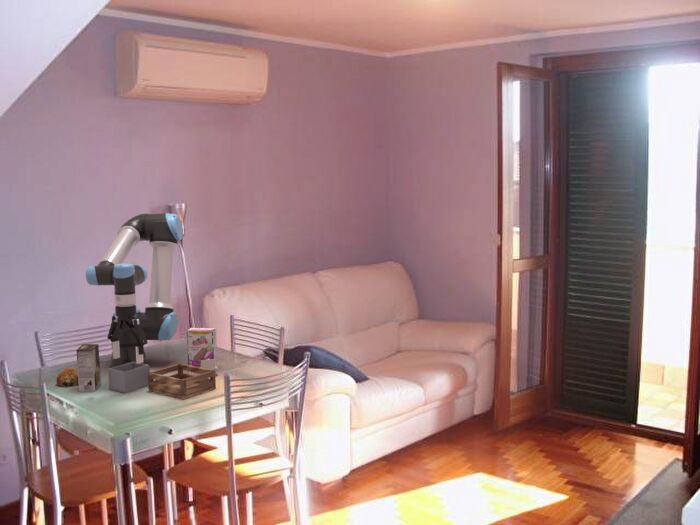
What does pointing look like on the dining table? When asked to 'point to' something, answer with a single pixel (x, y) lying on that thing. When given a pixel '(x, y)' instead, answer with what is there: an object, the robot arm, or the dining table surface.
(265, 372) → the dining table surface
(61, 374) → the bread roll
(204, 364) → the architectural model
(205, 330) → the candy bar box
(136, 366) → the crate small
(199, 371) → the crate big
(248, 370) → the dining table surface
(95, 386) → the coffee box
